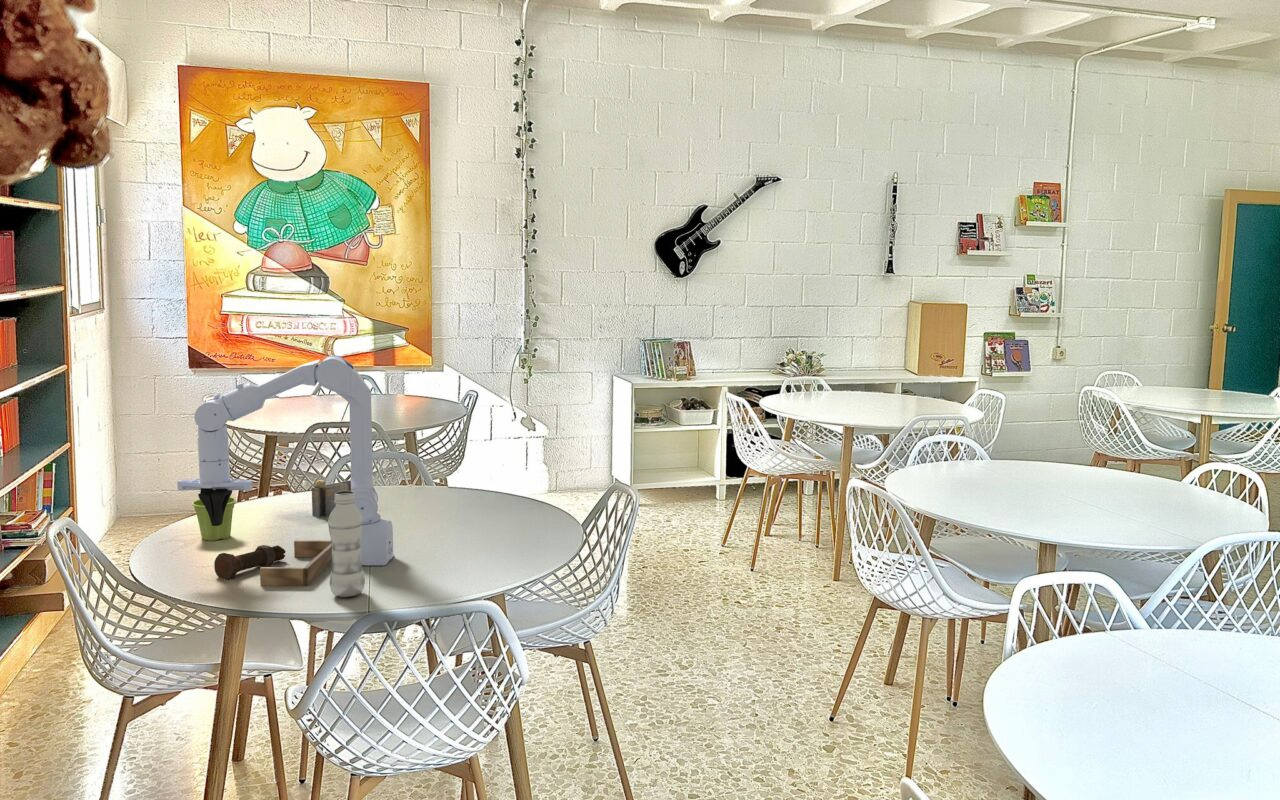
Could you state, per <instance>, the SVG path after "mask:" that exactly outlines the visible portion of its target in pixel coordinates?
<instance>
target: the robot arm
mask: <svg viewBox="0 0 1280 800" xmlns="http://www.w3.org/2000/svg"><path fill="white" fill-rule="evenodd" d="M317 383H319V385H320V386H321V387H323V388H324V389H327V390H329V391H332V392H334V393H337V394H338V395H339V396H340V397H342V398H343V399H344V400H345V401H346V402H348V404H349V406H348V407H349V438H350V439H349V440H350V442H349V444H350V445H349V447H350V449H349V450H350V481H351V491H354V495H355V502H354V505H355V507H356V508H357V509H358V510H359V512H360V513H361V515H362V518H363V523H362V532H361V546H360V548H361V561H362V566H387V564H388V563H389V562H390V560H391V559H392V558H393V557H394V556H395V553H394V531H393V529H394V528H393V523H392V521H391V520H389V519H388V520H387V519H382V518H381V516H382V515H380V514H379V513H378V510H379V508H378V507H379V506H378V502H379V496H378V493H377V491H376V489H375V487H374V476H373V475H374V474H373V473H374V468H373V462H374V461H373V460H374V459H373V420H372V419H373V417H372V413H373V412H372V391H371V389H370V388H369V386H368V384H367V383H366V382H365V380H364V379H363V377H362V376H361V375H360V374H359V372H358V371H357V369H356V368H355V366H354V365H353V364H352V363H350V361H348V360H347V359H345V358H344V357H341V356H340V355H335V354H334V355H333V354H332V355H328V356H325V357H324V358H323V359H316V360H314V361H313V360H312V361H310V362H307V363H303V364H301V365H298V366H297V367H294V368H293V369H290V370H288V371H286V372H285V373H282V374H280V375H278V376H276V377H274V378H272V379H270V380H268V381H265V382H264V383H261V384H260V385H259V384H258V385H257V384H254V383H251V382H248V383H244V382H241V383H238V384H237V385H236V386H235V387H236V388H235V389H233V390H230V391H228V392H226V393H224V394H220V393H217V394H215V395H213V398H214V399H210V400H207V401H205V402H203V403H202V404H201V405H200V406H198V407H197V409H196V410H195V413H194V421H195V424H196V425H197V436H198V437H197V454H198V470H199V471H198V473H199V474H198V475H199V478H191V479H186V478H185V479H180V480H177V483H176V484H177V491H178V492H180V491H200V492H199V493H198V499H200V500H201V501H202V503H203V504H204V506H205V508H206V510H207V512H208V515H209V518H210V521H211V524H212V526H219V525H221V524H222V521H223V516H224V511H225V508H226V505H227V502H228V500H229V498H230V497H232V493H233V491H244V492H249V491H252V490H253V489H254V488H253V487H254V486H253V479H241V478H240V479H239V478H231V470H230V450H229V449H230V447H229V435H228V425H227V422H230V421H231V422H235V421H237V420H239V419H241V418H243V417H246V416H248V415H249V414H252V413H254V412H256V411H259V410H261V409H262V408H263V407H264V405H265V401H266V400H267V399H270V398H272V397H275V396H277V395H279V394H282V393H284V392H287V391H289V390H291V389H293V388H295V387H298V386H302V385H306V386H312V387H315V386H316V385H317Z"/></svg>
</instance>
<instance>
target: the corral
mask: <svg viewBox="0 0 1280 800" xmlns="http://www.w3.org/2000/svg"><path fill="white" fill-rule="evenodd" d="M293 549H294V552H293V553H294V558H313V559H312V560H311V561H310V562H308V563H307V564H306V565H305V566H304V567H303V566H301V567H300V566H299V567H298V566H297V567H296V566H295V567H294V566H291V567H290V566H287V567H286V566H270V567H259V574H260V575H259V576H260V577H259V580H260V582H259V583H260V586H261V587H262V586H263V587H264V586H269V587H270V586H271V587H272V586H273V587H274V586H276V587H281V586H282V587H297V586H298V587H299V586H300V587H308V586H310V584H311V583H312V582H313V581H314V580H315V579H316V578H318V576H320V575H321V573H323V572H324V571H325V570H326V569H327V568H328V567H329V566H330V565H332V547H331V539H329V540H327V539H326V540H325V539H322V540H318V539H315V540H313V539H312V540H311V539H310V540H309V539H308V540H306V539H304V540H303V539H302V540H301V539H300V540H298V539H295V540H294V541H293Z"/></svg>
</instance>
